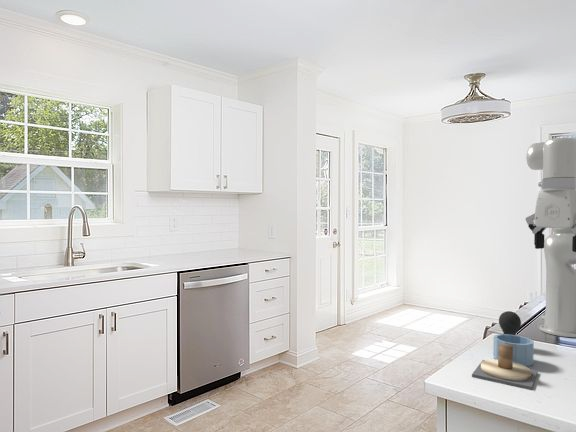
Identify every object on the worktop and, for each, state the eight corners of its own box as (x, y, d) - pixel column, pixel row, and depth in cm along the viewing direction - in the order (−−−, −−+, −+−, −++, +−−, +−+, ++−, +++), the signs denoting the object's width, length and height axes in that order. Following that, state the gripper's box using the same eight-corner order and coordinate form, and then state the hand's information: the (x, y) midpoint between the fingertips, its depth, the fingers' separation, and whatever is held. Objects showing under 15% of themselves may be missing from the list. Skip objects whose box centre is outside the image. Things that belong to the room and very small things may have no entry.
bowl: (497, 352, 117) (497, 332, 117) (535, 359, 111) (535, 338, 111) (490, 361, 109) (490, 340, 109) (531, 369, 104) (531, 347, 104)
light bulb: (524, 349, 119) (525, 313, 119) (505, 349, 119) (506, 313, 119) (512, 343, 125) (513, 309, 125) (494, 343, 125) (494, 309, 125)
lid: (485, 361, 108) (485, 336, 108) (533, 370, 102) (533, 344, 102) (476, 373, 99) (477, 346, 99) (527, 384, 93) (528, 356, 93)
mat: (482, 362, 109) (482, 359, 109) (537, 373, 102) (537, 370, 102) (471, 376, 99) (472, 374, 99) (531, 389, 92) (531, 386, 92)
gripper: (519, 186, 120) (517, 247, 120) (586, 183, 105) (585, 253, 105) (535, 187, 123) (534, 247, 124) (603, 184, 108) (601, 252, 108)
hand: (557, 250), depth 114 cm, fingers open, 9 cm apart
